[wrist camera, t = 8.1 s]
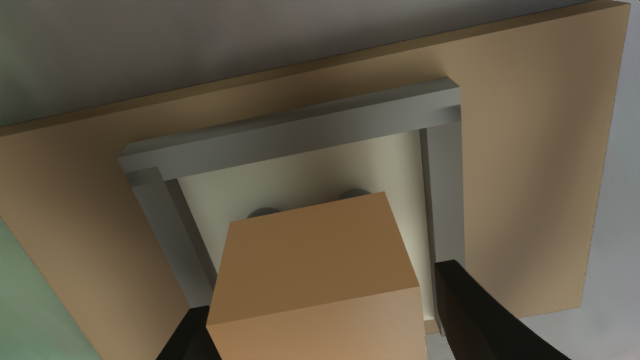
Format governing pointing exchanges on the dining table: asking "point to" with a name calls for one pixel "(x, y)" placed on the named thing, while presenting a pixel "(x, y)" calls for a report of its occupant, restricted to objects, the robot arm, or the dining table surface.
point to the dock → (330, 170)
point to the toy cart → (318, 285)
